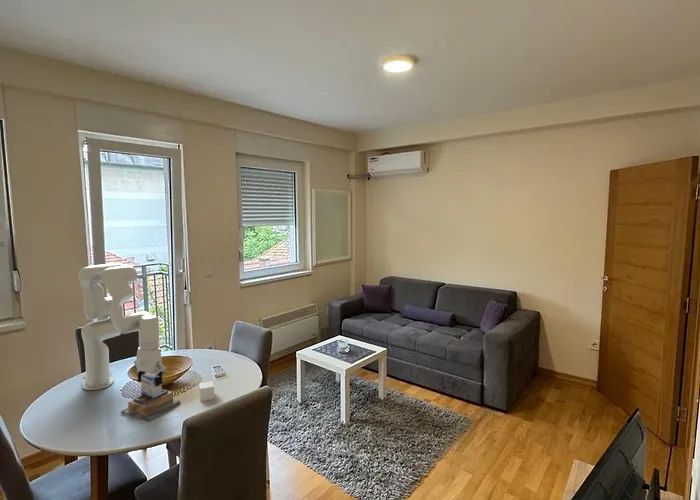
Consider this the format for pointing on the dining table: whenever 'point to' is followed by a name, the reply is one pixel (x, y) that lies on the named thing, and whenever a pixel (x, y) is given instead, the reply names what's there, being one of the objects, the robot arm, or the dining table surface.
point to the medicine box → (150, 385)
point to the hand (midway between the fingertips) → (150, 382)
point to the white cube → (206, 391)
